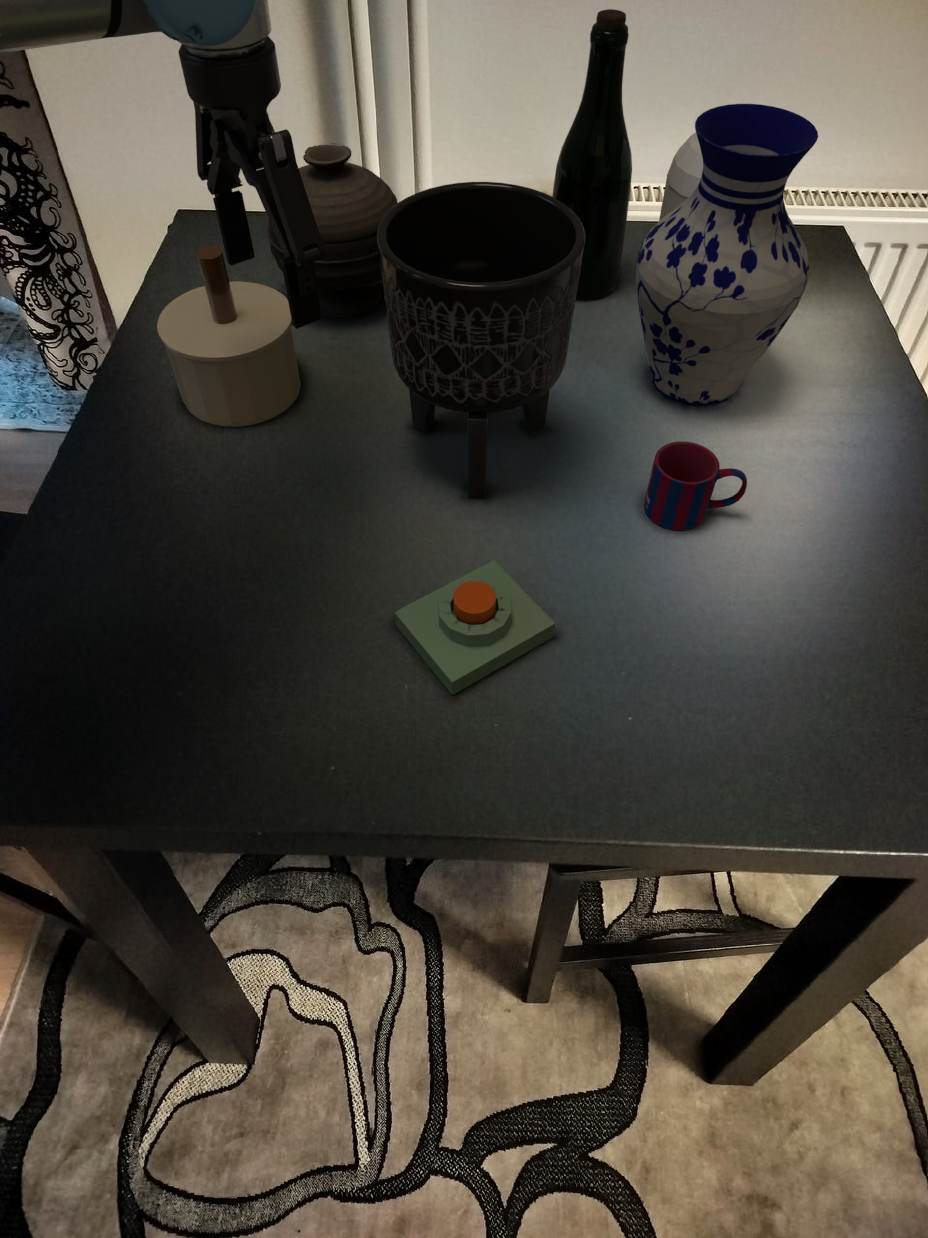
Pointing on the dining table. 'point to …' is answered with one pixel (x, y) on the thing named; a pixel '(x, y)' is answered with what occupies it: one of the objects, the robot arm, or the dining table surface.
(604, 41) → the wine bottle
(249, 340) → the lid
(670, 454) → the cup
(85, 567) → the dining table surface
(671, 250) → the vase
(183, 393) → the canister
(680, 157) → the container
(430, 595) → the block
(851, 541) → the dining table surface
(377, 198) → the pot
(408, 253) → the planter
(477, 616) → the button
